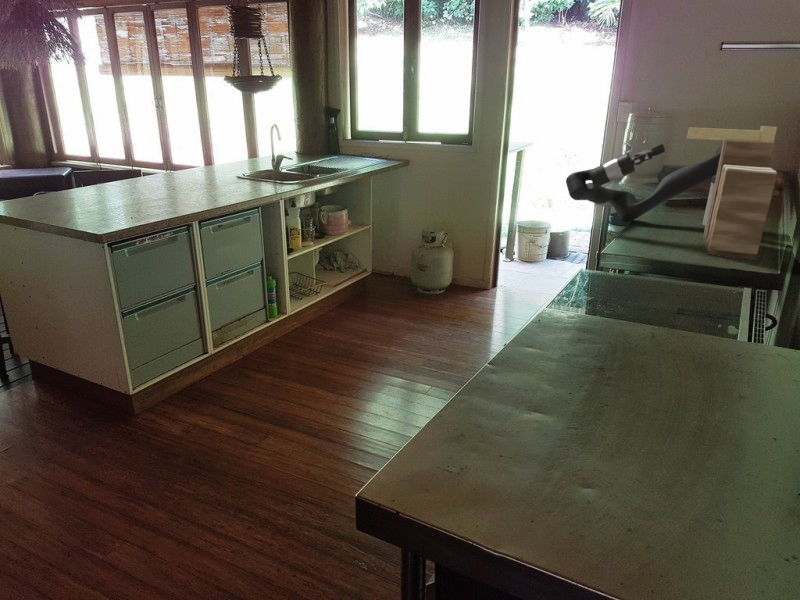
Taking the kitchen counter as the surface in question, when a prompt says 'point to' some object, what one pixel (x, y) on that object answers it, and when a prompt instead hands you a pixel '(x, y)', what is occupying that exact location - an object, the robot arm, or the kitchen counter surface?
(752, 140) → the tan wooden bar
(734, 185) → the stepped wooden block
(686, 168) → the robot arm
